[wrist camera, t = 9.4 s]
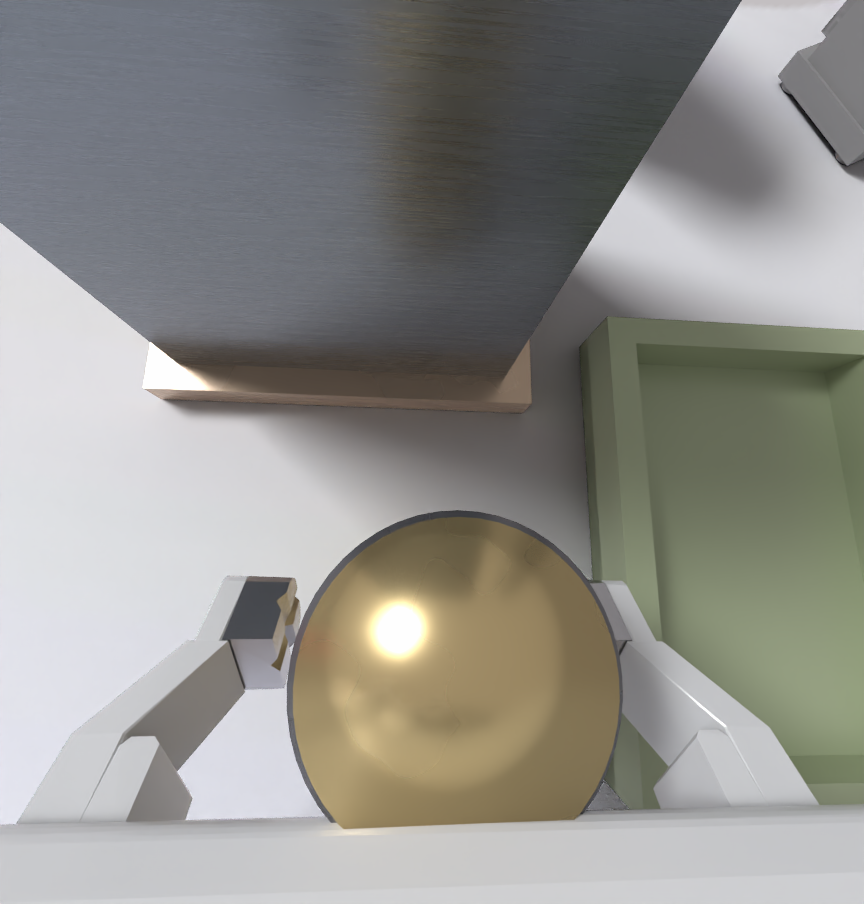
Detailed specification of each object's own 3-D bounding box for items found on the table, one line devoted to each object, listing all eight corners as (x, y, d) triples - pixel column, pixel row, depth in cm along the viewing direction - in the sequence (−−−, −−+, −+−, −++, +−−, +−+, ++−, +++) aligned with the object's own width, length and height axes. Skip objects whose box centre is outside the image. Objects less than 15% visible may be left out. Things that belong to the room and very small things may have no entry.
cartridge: (483, 661, 15) (642, 875, 5) (352, 664, 15) (271, 900, 5) (480, 529, 16) (611, 510, 6) (357, 529, 16) (296, 508, 6)
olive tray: (901, 774, 15) (995, 818, 13) (604, 779, 15) (645, 826, 12) (824, 359, 19) (887, 331, 16) (579, 347, 18) (607, 316, 16)
